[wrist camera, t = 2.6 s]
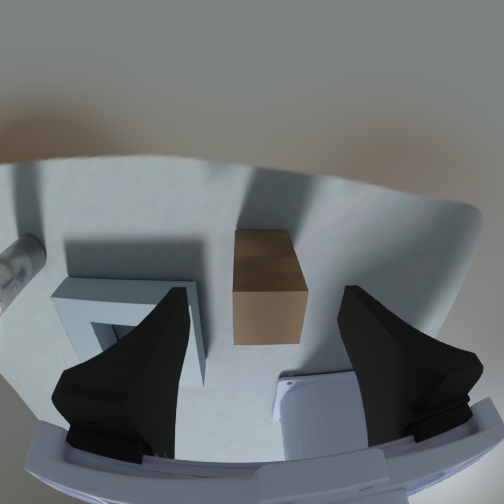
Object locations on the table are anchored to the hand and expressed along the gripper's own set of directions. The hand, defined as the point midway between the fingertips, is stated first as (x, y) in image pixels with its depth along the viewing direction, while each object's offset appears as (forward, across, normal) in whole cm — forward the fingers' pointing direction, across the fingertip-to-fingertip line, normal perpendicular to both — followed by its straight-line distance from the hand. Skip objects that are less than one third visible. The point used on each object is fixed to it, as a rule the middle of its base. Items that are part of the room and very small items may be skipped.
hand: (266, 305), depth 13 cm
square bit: (+5, 0, 0) cm, 5 cm away
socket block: (+5, +9, +6) cm, 12 cm away
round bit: (+5, +17, 0) cm, 18 cm away
